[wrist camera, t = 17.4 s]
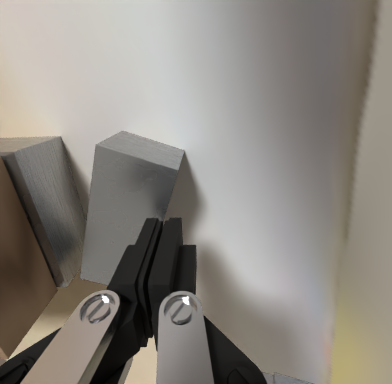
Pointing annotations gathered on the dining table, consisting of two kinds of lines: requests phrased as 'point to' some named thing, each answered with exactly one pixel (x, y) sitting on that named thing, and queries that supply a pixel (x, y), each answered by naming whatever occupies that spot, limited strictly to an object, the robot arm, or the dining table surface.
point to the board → (19, 270)
